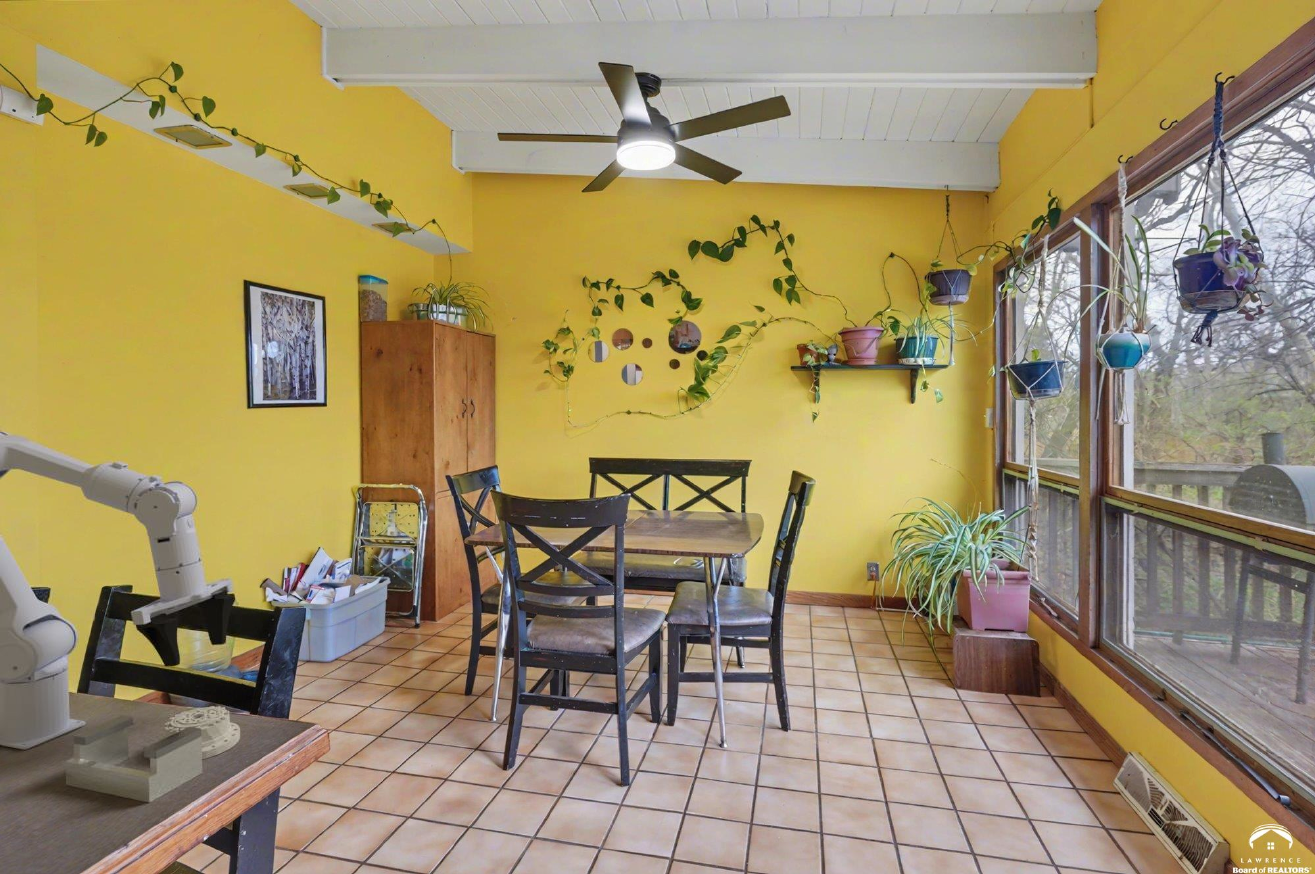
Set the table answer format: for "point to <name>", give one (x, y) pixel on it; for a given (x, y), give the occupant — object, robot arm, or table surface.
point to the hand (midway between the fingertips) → (196, 654)
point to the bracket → (109, 747)
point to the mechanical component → (207, 728)
